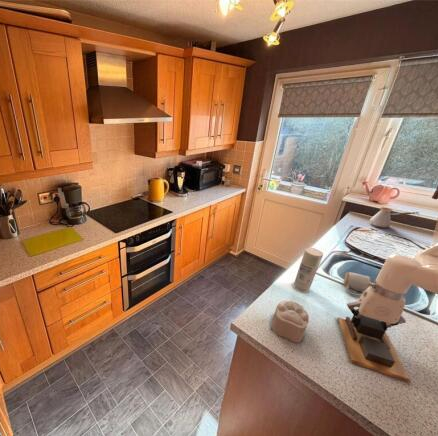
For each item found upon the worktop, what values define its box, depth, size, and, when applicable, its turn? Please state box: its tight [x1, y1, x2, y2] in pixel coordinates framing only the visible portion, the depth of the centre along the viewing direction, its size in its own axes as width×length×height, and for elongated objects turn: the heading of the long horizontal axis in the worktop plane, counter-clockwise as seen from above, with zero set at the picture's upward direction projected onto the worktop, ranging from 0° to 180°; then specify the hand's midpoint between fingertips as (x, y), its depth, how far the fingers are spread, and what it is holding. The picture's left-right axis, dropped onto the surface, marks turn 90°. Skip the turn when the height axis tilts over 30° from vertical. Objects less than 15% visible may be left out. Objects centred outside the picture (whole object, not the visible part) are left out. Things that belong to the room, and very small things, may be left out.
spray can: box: [293, 247, 324, 293], centre depth 104 cm, size 6×6×20 cm
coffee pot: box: [369, 206, 420, 229], centre depth 161 cm, size 21×12×15 cm, turn 43°
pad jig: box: [337, 316, 411, 382], centre depth 80 cm, size 14×19×4 cm
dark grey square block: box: [355, 313, 385, 340], centre depth 83 cm, size 6×6×4 cm
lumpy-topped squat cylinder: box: [271, 300, 310, 343], centre depth 87 cm, size 10×13×9 cm
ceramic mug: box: [342, 271, 371, 298], centre depth 105 cm, size 11×8×8 cm
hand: (366, 327), depth 84 cm, fingers closed on dark grey square block, 6 cm apart
